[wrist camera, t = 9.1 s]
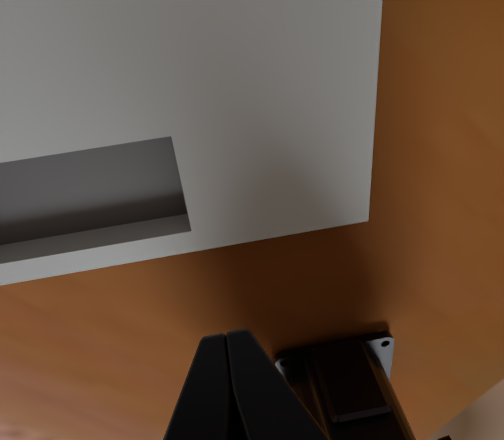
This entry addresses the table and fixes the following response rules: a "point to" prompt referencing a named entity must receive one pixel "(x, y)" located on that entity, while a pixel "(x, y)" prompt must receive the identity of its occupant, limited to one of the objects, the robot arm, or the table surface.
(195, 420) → the robot arm
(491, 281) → the table surface
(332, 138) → the board
